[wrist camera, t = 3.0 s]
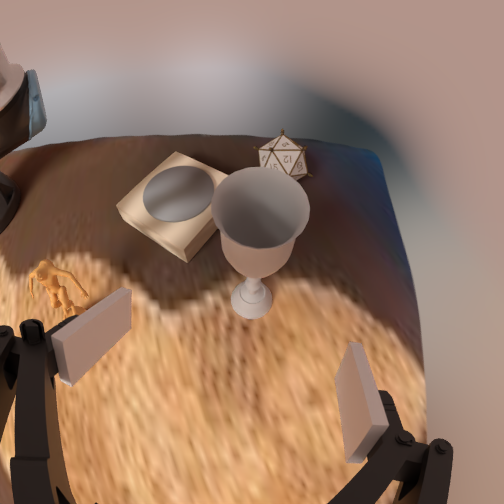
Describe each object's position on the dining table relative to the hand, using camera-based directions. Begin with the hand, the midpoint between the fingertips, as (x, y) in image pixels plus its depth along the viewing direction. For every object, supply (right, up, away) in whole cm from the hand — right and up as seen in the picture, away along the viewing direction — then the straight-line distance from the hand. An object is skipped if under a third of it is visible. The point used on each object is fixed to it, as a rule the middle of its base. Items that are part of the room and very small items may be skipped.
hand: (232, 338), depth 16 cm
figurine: (-21, -4, +17) cm, 27 cm away
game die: (+6, +16, +30) cm, 34 cm away
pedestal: (-9, +11, +26) cm, 30 cm away
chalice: (+1, -1, +20) cm, 20 cm away
